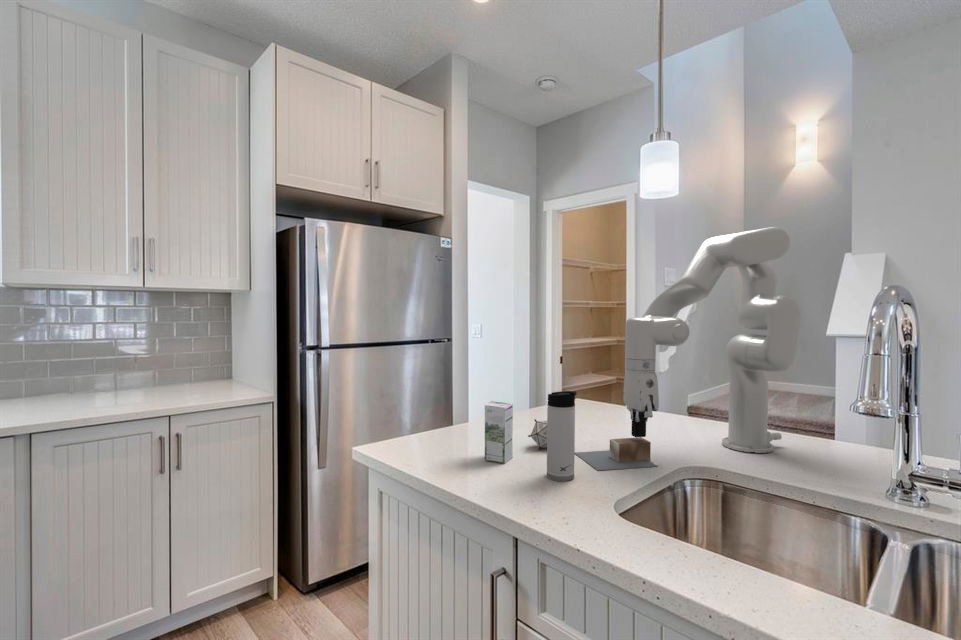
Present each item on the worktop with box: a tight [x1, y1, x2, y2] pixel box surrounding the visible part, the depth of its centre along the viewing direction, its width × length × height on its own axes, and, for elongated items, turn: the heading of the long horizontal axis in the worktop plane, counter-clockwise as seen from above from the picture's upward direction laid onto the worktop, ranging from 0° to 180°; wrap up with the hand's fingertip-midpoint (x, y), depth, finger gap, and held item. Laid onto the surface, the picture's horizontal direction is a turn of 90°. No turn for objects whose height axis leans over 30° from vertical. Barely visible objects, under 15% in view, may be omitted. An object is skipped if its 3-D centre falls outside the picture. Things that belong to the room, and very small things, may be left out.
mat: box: [575, 449, 659, 472], centre depth 125 cm, size 16×14×1 cm
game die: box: [527, 418, 547, 451], centre depth 135 cm, size 9×8×10 cm
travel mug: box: [546, 390, 578, 482], centre depth 112 cm, size 6×7×20 cm
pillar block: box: [609, 437, 652, 462], centre depth 126 cm, size 4×4×9 cm
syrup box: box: [484, 400, 514, 464], centre depth 125 cm, size 6×6×14 cm
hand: (638, 436), depth 126 cm, fingers closed
